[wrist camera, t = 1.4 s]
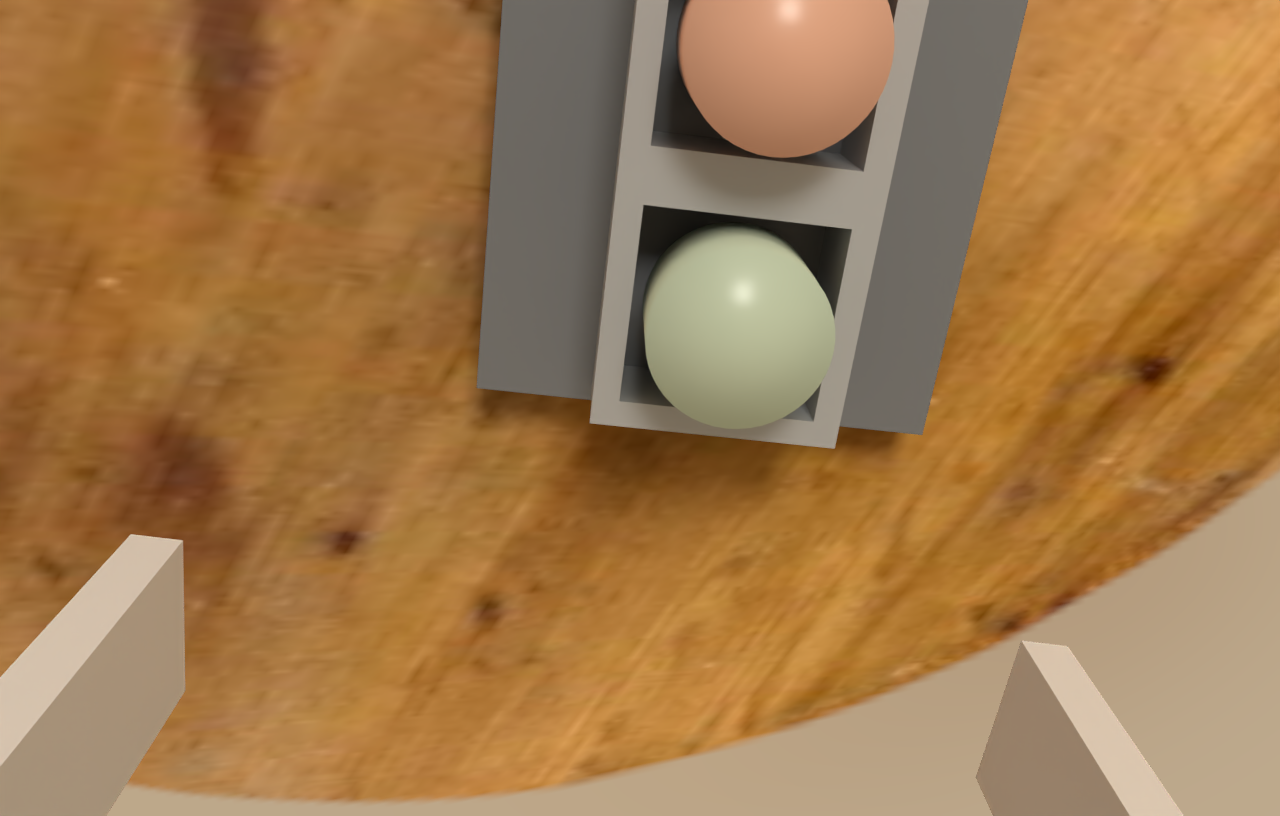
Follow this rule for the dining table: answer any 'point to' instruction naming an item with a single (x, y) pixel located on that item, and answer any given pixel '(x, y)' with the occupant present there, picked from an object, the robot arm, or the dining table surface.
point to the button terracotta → (785, 69)
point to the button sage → (736, 326)
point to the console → (728, 208)
